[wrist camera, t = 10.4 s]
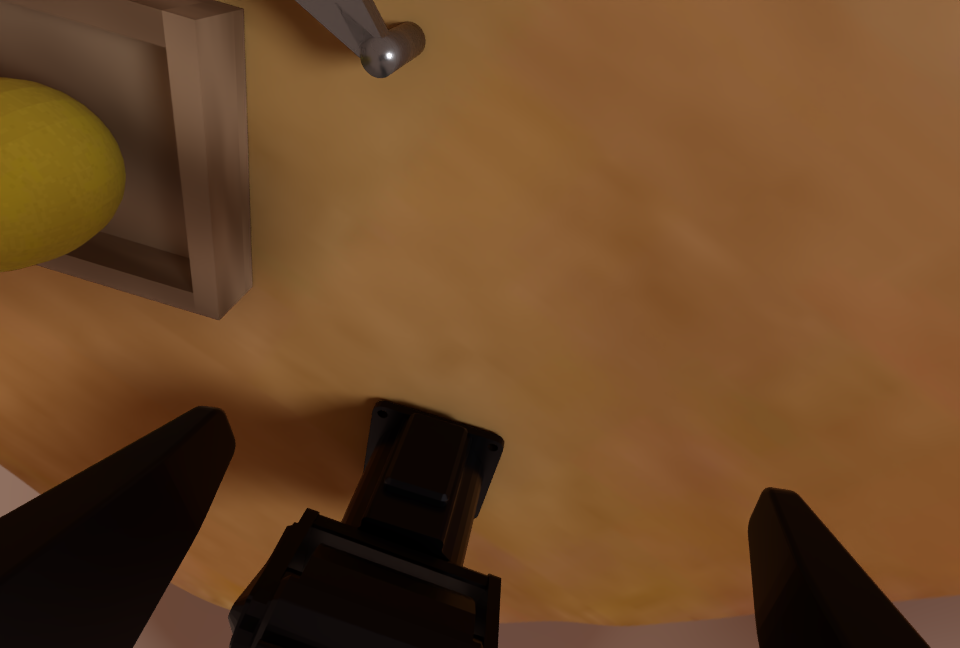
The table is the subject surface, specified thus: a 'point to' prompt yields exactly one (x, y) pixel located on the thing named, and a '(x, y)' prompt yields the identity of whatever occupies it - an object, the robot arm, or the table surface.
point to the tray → (153, 137)
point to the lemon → (52, 174)
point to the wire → (368, 33)
